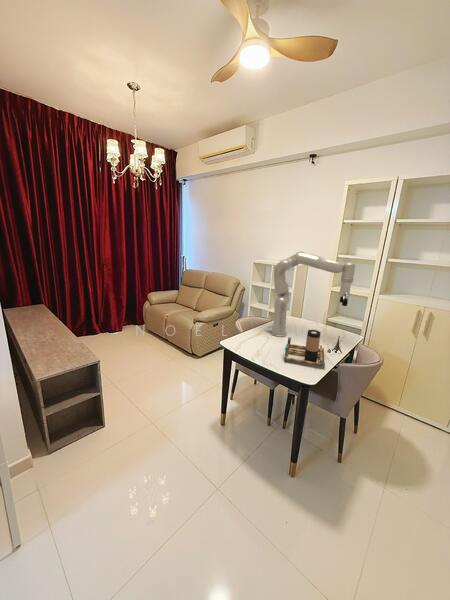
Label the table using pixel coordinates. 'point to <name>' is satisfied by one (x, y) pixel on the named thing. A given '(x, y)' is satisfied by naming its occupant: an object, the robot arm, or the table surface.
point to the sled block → (300, 347)
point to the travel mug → (312, 345)
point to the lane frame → (309, 364)
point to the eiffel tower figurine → (335, 347)
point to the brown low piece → (301, 356)
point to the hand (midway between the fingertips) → (343, 304)
